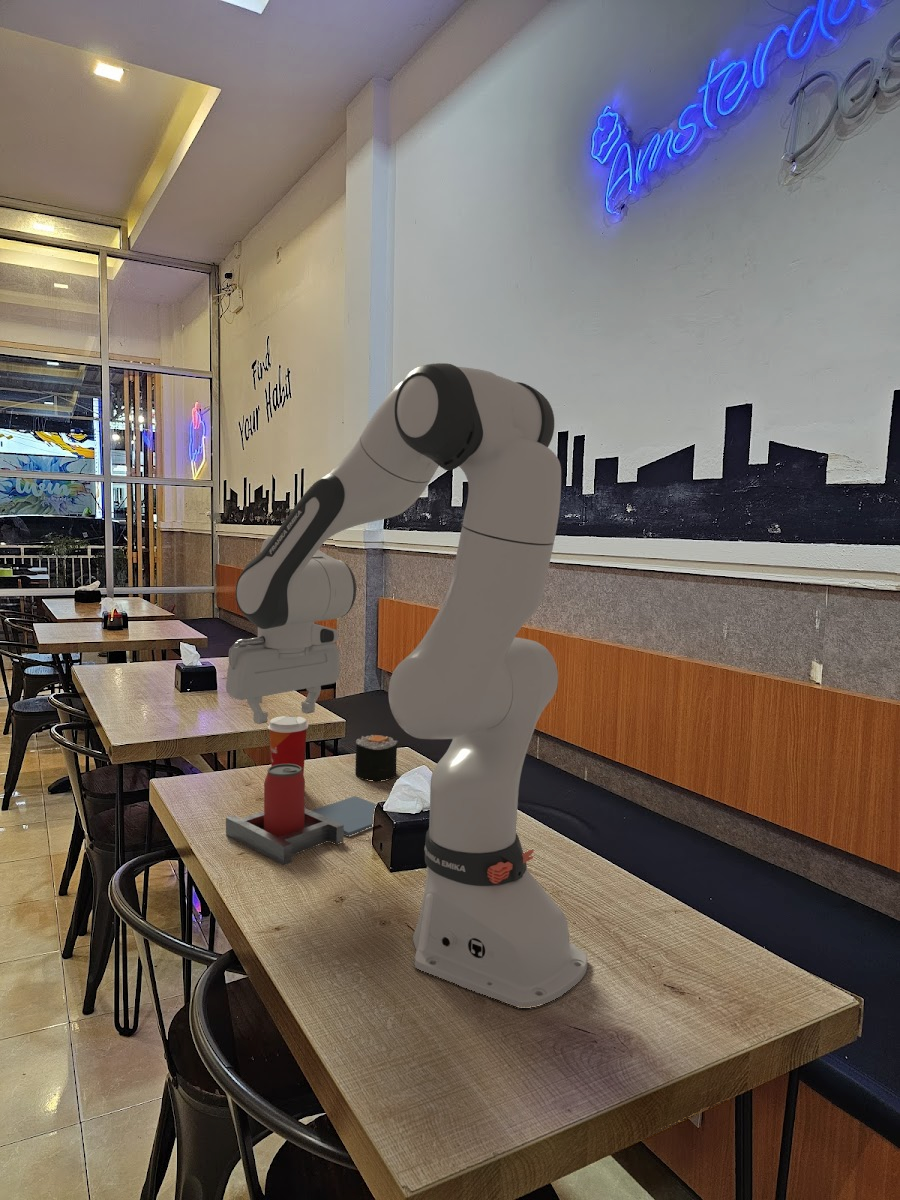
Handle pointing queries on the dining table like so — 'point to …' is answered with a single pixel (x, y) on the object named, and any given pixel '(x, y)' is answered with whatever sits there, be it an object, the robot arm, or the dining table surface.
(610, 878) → the dining table surface
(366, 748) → the sushi
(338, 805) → the rubber mat
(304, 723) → the paper cup
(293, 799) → the beer can
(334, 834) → the frame
